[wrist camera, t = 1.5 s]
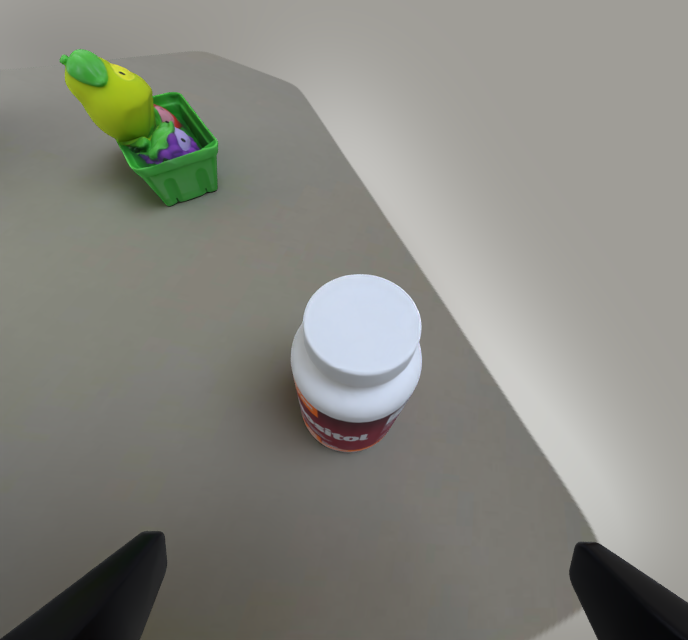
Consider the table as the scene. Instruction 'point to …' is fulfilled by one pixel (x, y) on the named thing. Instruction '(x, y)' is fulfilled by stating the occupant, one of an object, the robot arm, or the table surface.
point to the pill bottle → (356, 360)
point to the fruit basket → (146, 127)
